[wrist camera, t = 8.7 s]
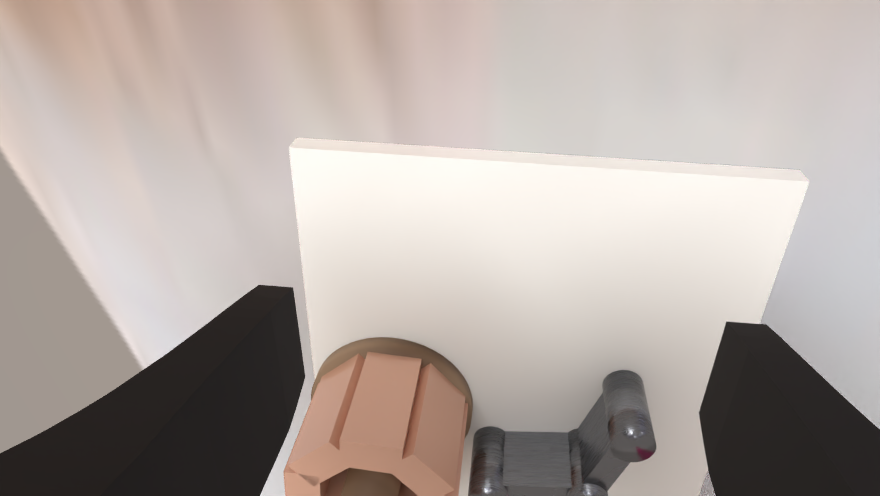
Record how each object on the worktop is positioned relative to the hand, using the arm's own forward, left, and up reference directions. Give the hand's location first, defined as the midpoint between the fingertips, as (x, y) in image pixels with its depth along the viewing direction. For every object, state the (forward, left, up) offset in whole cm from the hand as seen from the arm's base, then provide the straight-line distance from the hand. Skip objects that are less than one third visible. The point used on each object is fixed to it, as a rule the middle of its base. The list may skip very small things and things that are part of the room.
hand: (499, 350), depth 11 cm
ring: (+4, +11, -8) cm, 14 cm away
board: (-1, +9, -10) cm, 13 cm away
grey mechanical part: (-2, +10, -9) cm, 14 cm away
